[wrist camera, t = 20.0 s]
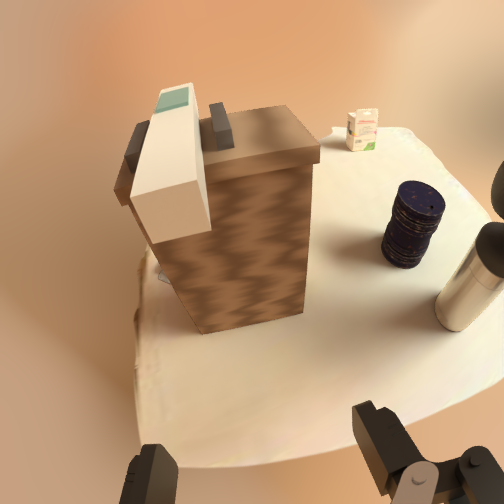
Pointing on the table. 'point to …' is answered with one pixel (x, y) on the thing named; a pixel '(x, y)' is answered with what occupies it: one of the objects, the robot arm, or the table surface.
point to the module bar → (172, 170)
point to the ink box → (362, 129)
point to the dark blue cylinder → (412, 223)
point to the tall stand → (241, 219)
